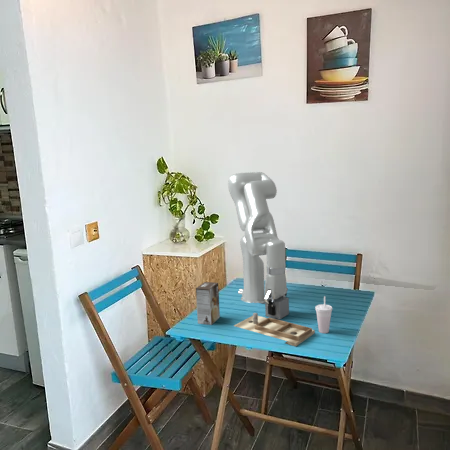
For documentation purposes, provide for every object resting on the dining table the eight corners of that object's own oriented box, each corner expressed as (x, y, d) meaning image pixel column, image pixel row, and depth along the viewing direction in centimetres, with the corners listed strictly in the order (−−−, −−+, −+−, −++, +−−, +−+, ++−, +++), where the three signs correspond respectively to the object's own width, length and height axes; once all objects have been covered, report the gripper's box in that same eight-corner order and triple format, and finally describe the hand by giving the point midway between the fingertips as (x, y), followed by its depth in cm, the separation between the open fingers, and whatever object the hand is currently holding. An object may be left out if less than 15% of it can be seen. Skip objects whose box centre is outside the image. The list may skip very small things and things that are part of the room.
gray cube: (265, 316, 182) (264, 299, 181) (274, 310, 187) (274, 295, 186) (280, 319, 177) (279, 302, 176) (289, 313, 183) (288, 297, 182)
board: (233, 328, 173) (233, 316, 172) (254, 317, 184) (253, 305, 183) (295, 346, 156) (295, 332, 155) (314, 333, 166) (314, 320, 165)
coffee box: (206, 318, 185) (204, 281, 183) (220, 319, 183) (218, 282, 180) (197, 326, 177) (195, 287, 174) (212, 328, 175) (210, 289, 172)
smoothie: (321, 336, 163) (321, 300, 161) (311, 329, 169) (311, 295, 167) (335, 332, 166) (336, 297, 164) (325, 326, 172) (325, 292, 169)
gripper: (279, 264, 188) (280, 304, 191) (256, 274, 175) (257, 316, 178) (295, 266, 183) (295, 307, 186) (272, 277, 170) (272, 320, 173)
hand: (276, 311), depth 182 cm, fingers closed on gray cube, 7 cm apart
